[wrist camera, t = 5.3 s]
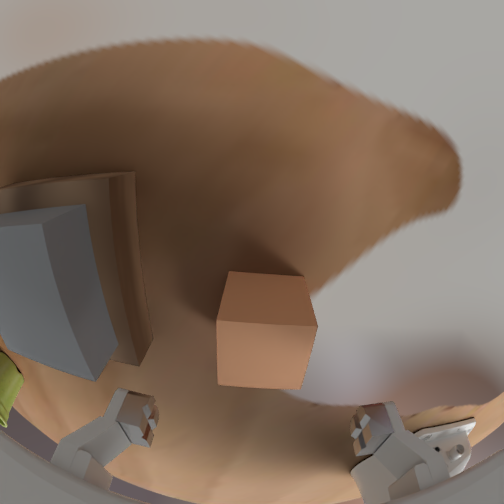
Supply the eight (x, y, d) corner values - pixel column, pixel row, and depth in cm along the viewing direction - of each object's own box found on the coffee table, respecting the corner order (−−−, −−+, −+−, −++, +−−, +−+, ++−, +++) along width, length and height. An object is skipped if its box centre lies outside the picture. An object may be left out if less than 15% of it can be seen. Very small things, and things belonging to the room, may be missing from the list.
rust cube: (303, 276, 16) (318, 326, 12) (293, 334, 18) (300, 389, 13) (229, 270, 16) (216, 320, 12) (227, 329, 18) (217, 384, 13)
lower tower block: (138, 170, 15) (108, 178, 11) (155, 335, 19) (139, 366, 16) (18, 182, 15) (-12, 191, 11) (45, 311, 19) (24, 331, 16)
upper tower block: (85, 204, 12) (41, 223, 9) (118, 344, 15) (95, 381, 12) (-1, 214, 12) (-35, 230, 9) (31, 324, 15) (7, 349, 12)
